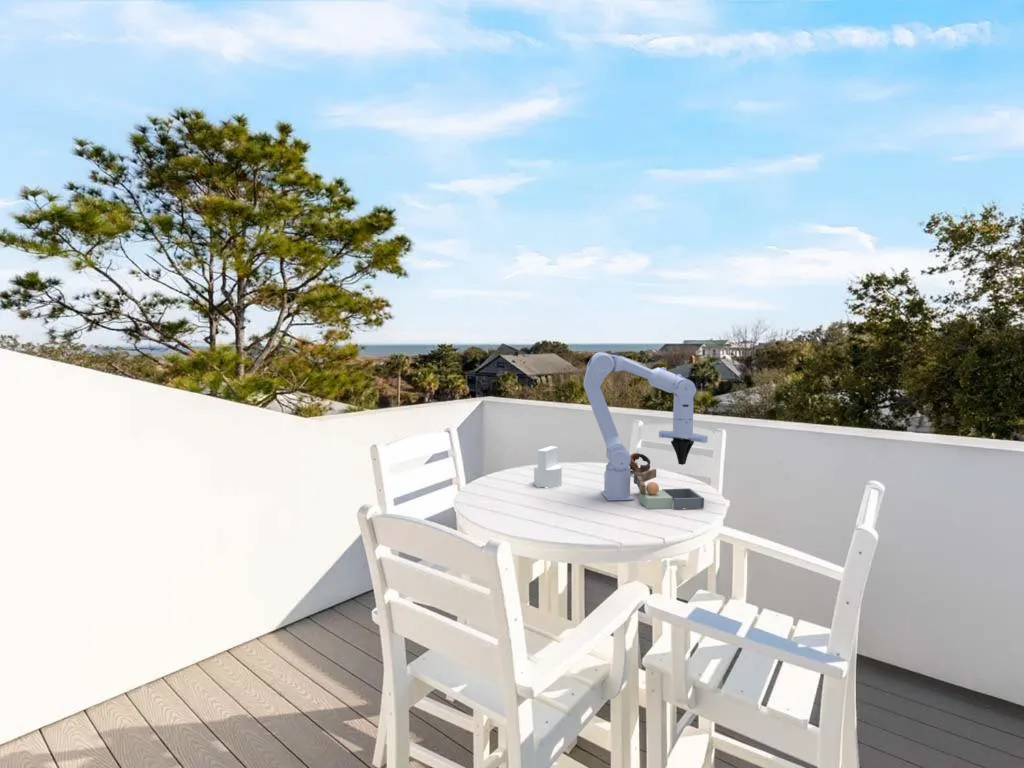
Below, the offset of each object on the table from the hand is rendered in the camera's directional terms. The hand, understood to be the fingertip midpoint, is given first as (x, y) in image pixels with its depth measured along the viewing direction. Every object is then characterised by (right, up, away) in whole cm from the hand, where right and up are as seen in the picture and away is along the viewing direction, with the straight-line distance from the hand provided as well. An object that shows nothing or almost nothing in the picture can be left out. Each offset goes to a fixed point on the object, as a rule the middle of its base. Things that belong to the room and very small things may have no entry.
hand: (682, 463), depth 177 cm
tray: (-2, -11, -5) cm, 12 cm away
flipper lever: (-9, -7, +3) cm, 12 cm away
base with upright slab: (-39, -9, +18) cm, 44 cm away
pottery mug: (-8, -8, +32) cm, 34 cm away
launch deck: (-9, -11, -6) cm, 16 cm away
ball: (-10, -6, -6) cm, 14 cm away
